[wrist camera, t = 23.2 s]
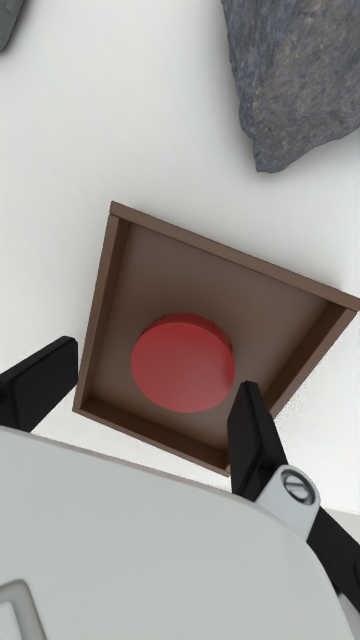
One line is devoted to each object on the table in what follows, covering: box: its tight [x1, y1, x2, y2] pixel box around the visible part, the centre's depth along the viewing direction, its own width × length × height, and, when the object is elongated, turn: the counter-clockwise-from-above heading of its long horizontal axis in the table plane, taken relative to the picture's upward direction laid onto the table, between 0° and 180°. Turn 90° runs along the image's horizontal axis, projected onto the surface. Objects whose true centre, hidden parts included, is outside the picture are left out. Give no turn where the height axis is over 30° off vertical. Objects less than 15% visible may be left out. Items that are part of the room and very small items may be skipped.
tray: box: [72, 201, 360, 477], centre depth 14 cm, size 15×13×2 cm
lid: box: [130, 313, 235, 413], centre depth 13 cm, size 7×7×2 cm
